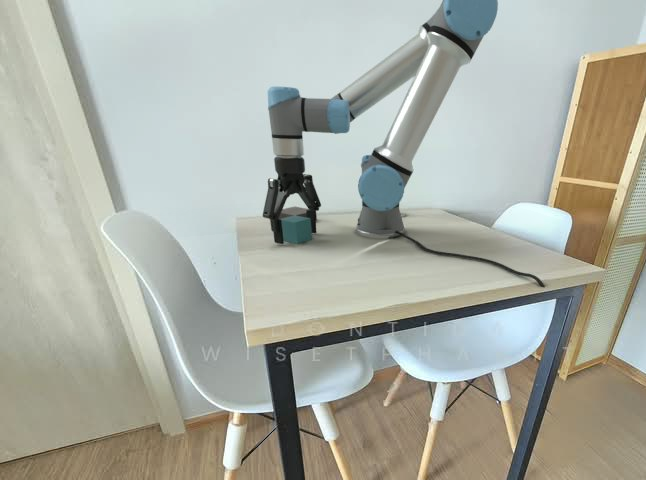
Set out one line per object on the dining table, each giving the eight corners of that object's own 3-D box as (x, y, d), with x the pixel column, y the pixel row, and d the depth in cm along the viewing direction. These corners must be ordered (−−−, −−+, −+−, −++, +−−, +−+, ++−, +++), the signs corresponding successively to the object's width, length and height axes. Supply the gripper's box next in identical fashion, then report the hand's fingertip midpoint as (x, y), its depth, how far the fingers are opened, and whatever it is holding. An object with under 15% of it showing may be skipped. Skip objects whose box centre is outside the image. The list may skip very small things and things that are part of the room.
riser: (317, 221, 125) (316, 210, 123) (296, 227, 117) (295, 215, 115) (295, 217, 129) (294, 206, 127) (274, 223, 121) (273, 211, 119)
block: (312, 239, 103) (310, 218, 100) (297, 244, 98) (295, 222, 95) (296, 235, 105) (294, 215, 103) (281, 240, 101) (279, 219, 98)
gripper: (310, 153, 103) (315, 226, 113) (239, 157, 84) (252, 245, 93) (331, 155, 100) (334, 230, 109) (261, 160, 81) (272, 251, 90)
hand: (296, 237), depth 101 cm, fingers open, 12 cm apart
